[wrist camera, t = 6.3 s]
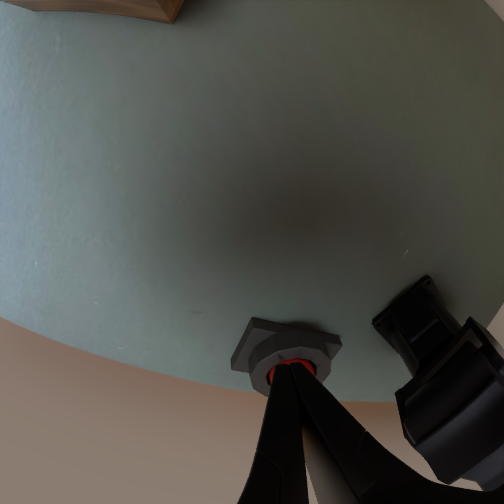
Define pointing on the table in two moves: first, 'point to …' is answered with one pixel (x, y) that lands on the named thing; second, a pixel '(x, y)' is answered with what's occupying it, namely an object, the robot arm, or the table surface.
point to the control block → (281, 351)
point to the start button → (304, 361)
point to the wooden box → (110, 7)
